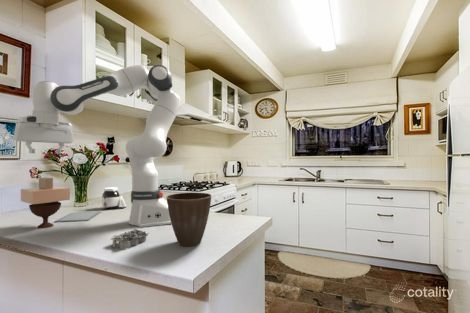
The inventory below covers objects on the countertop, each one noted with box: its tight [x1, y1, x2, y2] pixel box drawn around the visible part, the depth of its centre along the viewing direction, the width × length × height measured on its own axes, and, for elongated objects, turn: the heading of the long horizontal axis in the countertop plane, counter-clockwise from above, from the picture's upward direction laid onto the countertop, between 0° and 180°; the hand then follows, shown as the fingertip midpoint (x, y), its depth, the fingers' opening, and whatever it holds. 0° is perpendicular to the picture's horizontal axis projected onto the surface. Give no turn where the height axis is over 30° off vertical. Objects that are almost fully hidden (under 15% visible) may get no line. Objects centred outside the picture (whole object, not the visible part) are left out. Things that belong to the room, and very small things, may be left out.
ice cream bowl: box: [28, 201, 62, 229], centre depth 107 cm, size 11×11×15 cm
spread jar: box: [101, 186, 127, 211], centre depth 145 cm, size 12×11×12 cm
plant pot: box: [165, 192, 212, 248], centre depth 86 cm, size 15×15×16 cm
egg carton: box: [110, 228, 150, 250], centre depth 85 cm, size 11×8×4 cm
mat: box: [53, 211, 102, 223], centre depth 124 cm, size 14×18×1 cm
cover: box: [20, 176, 71, 205], centre depth 107 cm, size 13×13×10 cm
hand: (45, 153), depth 107 cm, fingers open, 8 cm apart
